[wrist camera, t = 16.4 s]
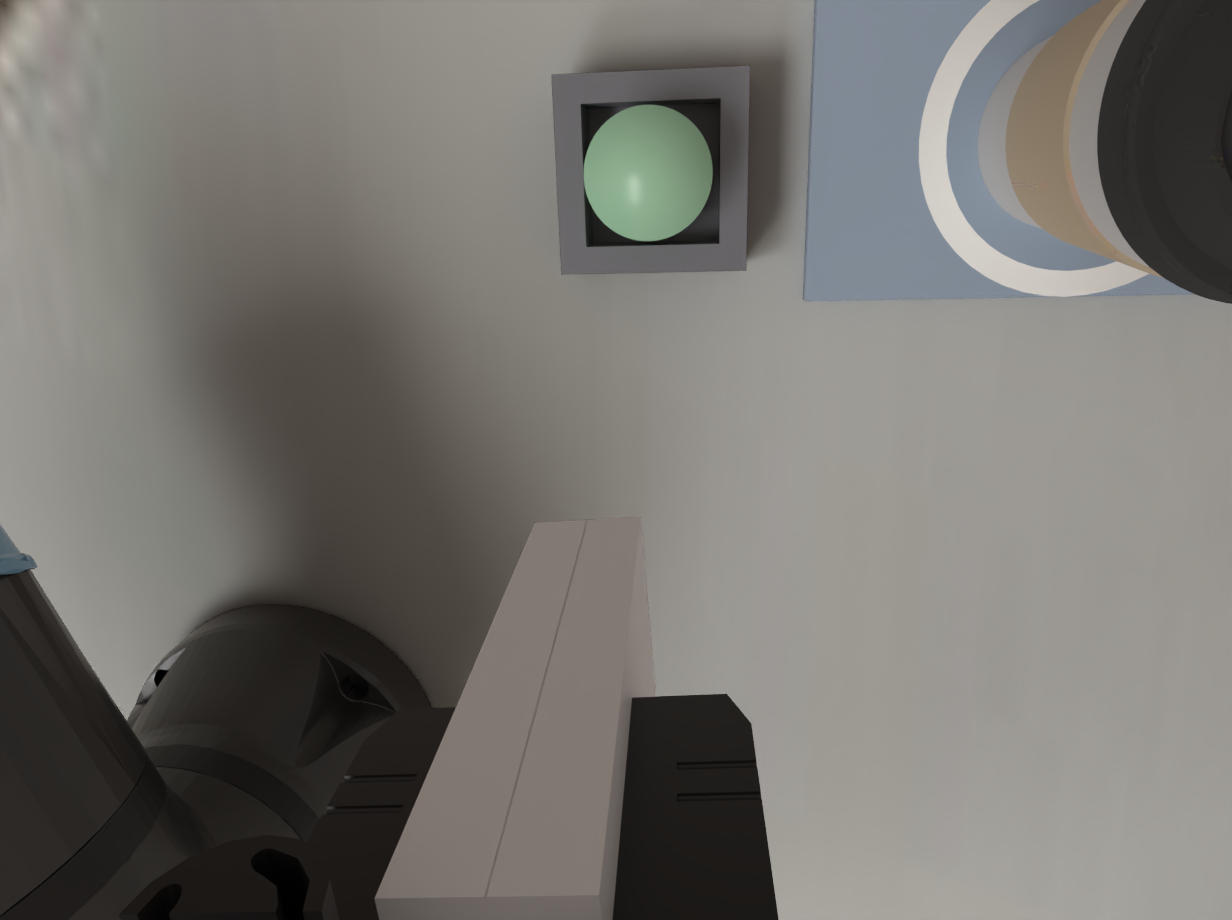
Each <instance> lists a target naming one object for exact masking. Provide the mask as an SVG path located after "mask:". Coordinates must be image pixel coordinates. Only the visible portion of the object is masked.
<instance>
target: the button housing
mask: <svg viewBox="0 0 1232 920" xmlns="http://www.w3.org/2000/svg"><path fill="white" fill-rule="evenodd" d="M551 76H552V96H553V116H554V136H555V156H556V176H557V196H558V216H559V236H560V257H561V275H564V274H611V273H659V272H706V271H746V251H747V197H748V142H749V88H750V66H731V67H708V68H686V69H664V70H642V71H619V72H597V73H575V74H553V75H551ZM638 105H659V106H664V107H667V108H670V109H673V110H675V111H677V112H679V113H681V114H682V115H684V116H685V117H687V118H688V119H689V120H690V121H691V122H692V123H693V124H694V125H695V126H696V127H697V128H698V130H699V131H700V132H701V134H702V135H703V137H704V139H705V141H706V143H707V145H708V148H709V151H710V154H711V159H712V168H713V176H712V185H711V190H710V193H709V196H708V199H707V201H706V203H705V205H704V207H703V209H702V210H701V212H700V214H699V215H698V216H697V217H696V219H695V220H694V221H693V222H692V223H691V224H690V225H689V226H688V227H686V228H685V229H683V230H682V231H681V232H679V233H677V234H675V235H673V236H671V237H668V238H666V239H661V240H657V241H638V240H633V239H630V238H626V237H624V236H622V235H620V234H618V233H616V232H614V231H613V230H611V229H610V228H609V227H608V226H606V225H605V224H604V223H603V222H602V221H601V220H600V218H599V217H598V216H597V214H596V213H595V212H594V210H593V208H592V206H591V204H590V202H589V200H588V197H587V194H586V190H585V186H584V163H585V157H586V154H587V150H588V148H589V145H590V143H591V141H592V139H593V137H594V136H595V134H596V133H597V131H598V130H599V129H600V127H601V126H602V125H603V124H604V123H605V122H606V121H607V120H609V119H610V118H611V117H612V116H614V115H615V114H617V113H619V112H621V111H623V110H625V109H628V108H630V107H634V106H638Z"/></svg>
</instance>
